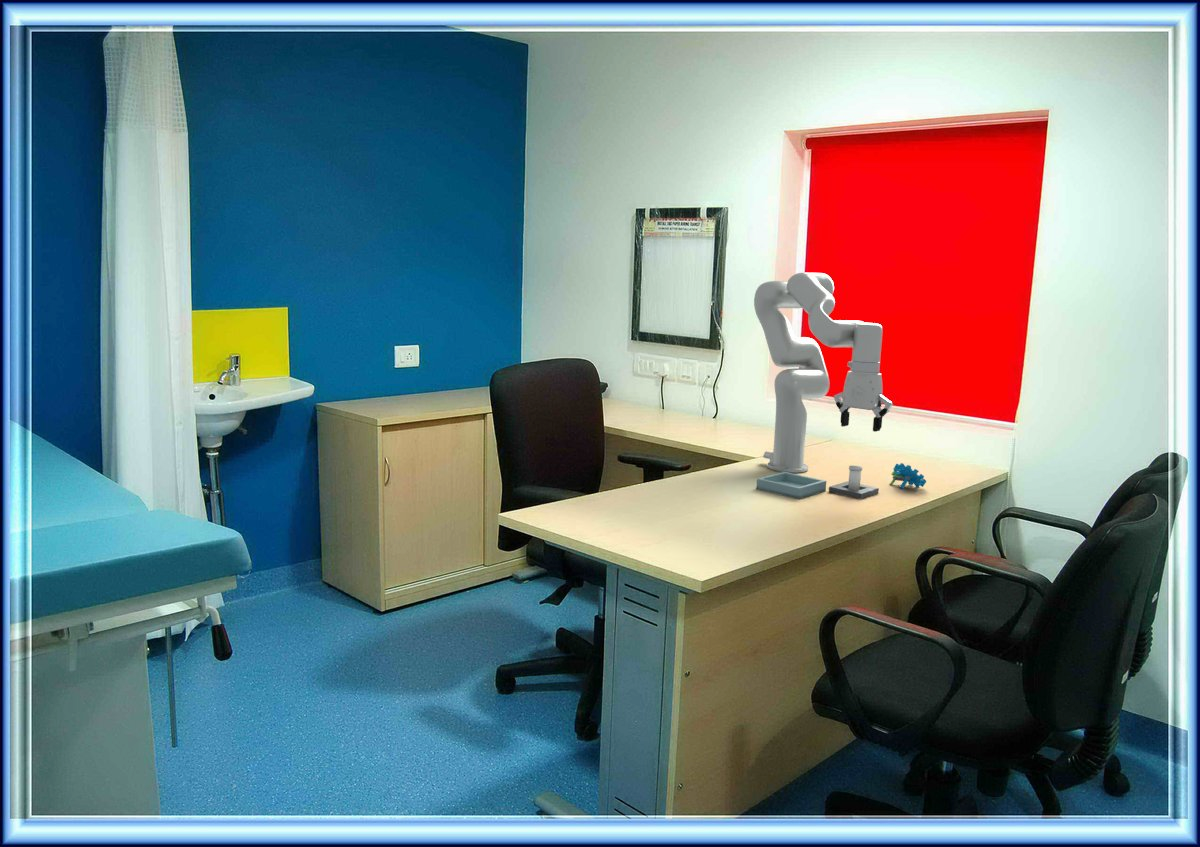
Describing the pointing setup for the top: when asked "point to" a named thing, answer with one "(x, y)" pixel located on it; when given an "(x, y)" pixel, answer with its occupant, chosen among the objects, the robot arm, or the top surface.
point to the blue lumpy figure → (907, 476)
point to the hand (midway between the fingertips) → (860, 428)
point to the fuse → (854, 477)
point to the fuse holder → (860, 494)
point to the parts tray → (791, 485)
